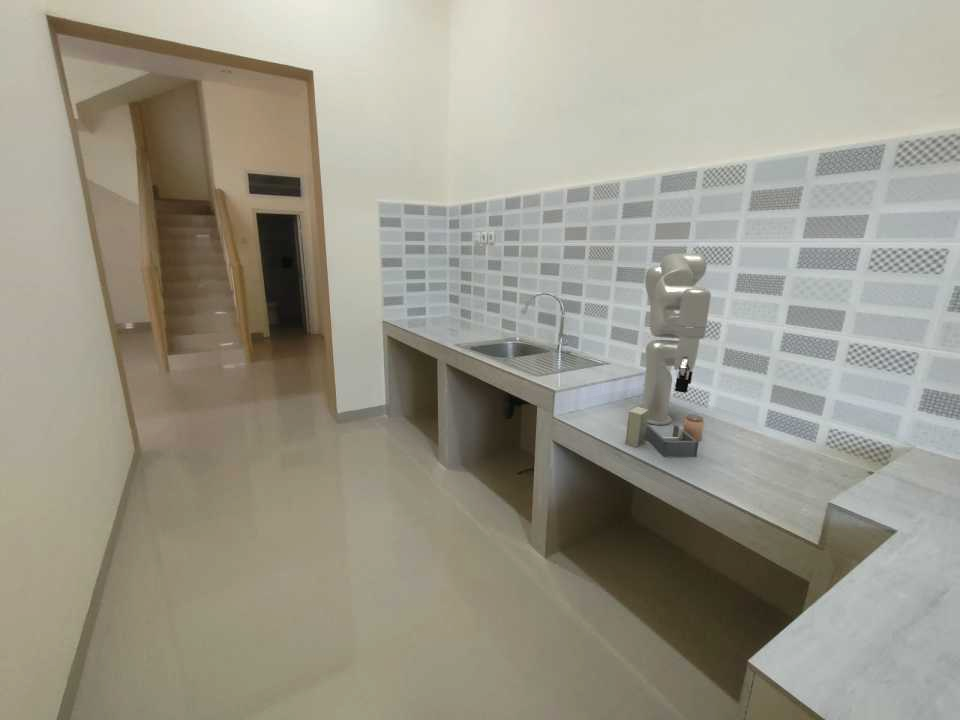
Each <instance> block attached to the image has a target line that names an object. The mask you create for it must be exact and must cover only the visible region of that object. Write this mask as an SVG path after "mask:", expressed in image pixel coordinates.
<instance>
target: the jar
mask: <svg viewBox="0 0 960 720" xmlns="http://www.w3.org/2000/svg"><path fill="white" fill-rule="evenodd" d="M704 423H705V420H704V417H702V416H701V415H698V414H686V416H685V417H684V422H683V427H682V428H683V430H684V431H685V432H687V433H688V434H689V435H690V436H692V437H693V438H694V439H695V440H697V441H698V442H700V440H701V441H702V437H703V430H704V429H703V428H704Z"/></svg>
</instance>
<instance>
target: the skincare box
mask: <svg viewBox="0 0 960 720" xmlns="http://www.w3.org/2000/svg"><path fill="white" fill-rule="evenodd" d="M648 413H649V410H648V409H644V408H642V406H641V407H640V406H635V407H633V408H631V409H630V410H629V411H628V417H627V427H626V435H625V443H624V444H626V445H628V446H632V447H635V448H639V447H640V446H642V445H644V444H645V442H646V439H645V437H646V429H647V425H648V423H647V421H648Z"/></svg>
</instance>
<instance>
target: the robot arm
mask: <svg viewBox="0 0 960 720" xmlns="http://www.w3.org/2000/svg"><path fill="white" fill-rule="evenodd" d="M706 271H707V259H706V258H705V256H703V255H702V254H699V253H671V254H668V255H666V256H664V257H663V258H662V260H661V262H660V264H659V265H655V266H651V267H649V268H648V269H647V271H646V273H645V277H644V278H645V280H644V282H645V283H644V284H645V291H646V293H647V296H648V299H649V304H650V306H649V307H650V310H649V322H650V323H649V326H650V327H649V329H650V334H651V335H652V336H653V337H656V338H664V339H655V340H651V341H649V342H648V343H647V345H646V346H645V364H646V365H645V366H646V367H645V378H644V386H643V395H642V403H641V404H640V406H641V408H644V409H648V410H649V413H648V421H647V424H648V425H655V426H664V425H669V424H670V423H672V417H671V416H669V407H670V400H671V391H672V383H673V377H672V373H671V372H670V371H669V369H668V368H667V367H673V369H674V370H675V371H677V370H678V373H677V377H676V379H675V380H676V382H675V386H674V387H675V388H674V391H675V392H677V393H678V392H679V393H685V394H686V393H687V392H688V388H689V385H690V384H691V383H692V377H693V370H694V368H695V365H696V361H697V357H698V352H699V345H700V340H703V339H705V337H706V330H707V323H708V317H709V311H710V305H711V304H710V303H711V297H712V293H711V292H710V290H709V289H706V287H703V286H698V285H697V283H699V281H701V279H703V277H704V275H705V274H706ZM696 285H697V286H696ZM675 311H677V312H675ZM665 338H666V339H665ZM669 339H670V340H669ZM671 339H678V340H671Z"/></svg>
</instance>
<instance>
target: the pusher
mask: <svg viewBox="0 0 960 720" xmlns="http://www.w3.org/2000/svg"><path fill="white" fill-rule="evenodd" d="M683 428H684V427H680V428H679V431H678V437H673V436H668V437H667V436H666V437H665V436H662V437H663V438H664V439H665V440H666V441H682V440H683V438H682V433H683Z"/></svg>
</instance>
